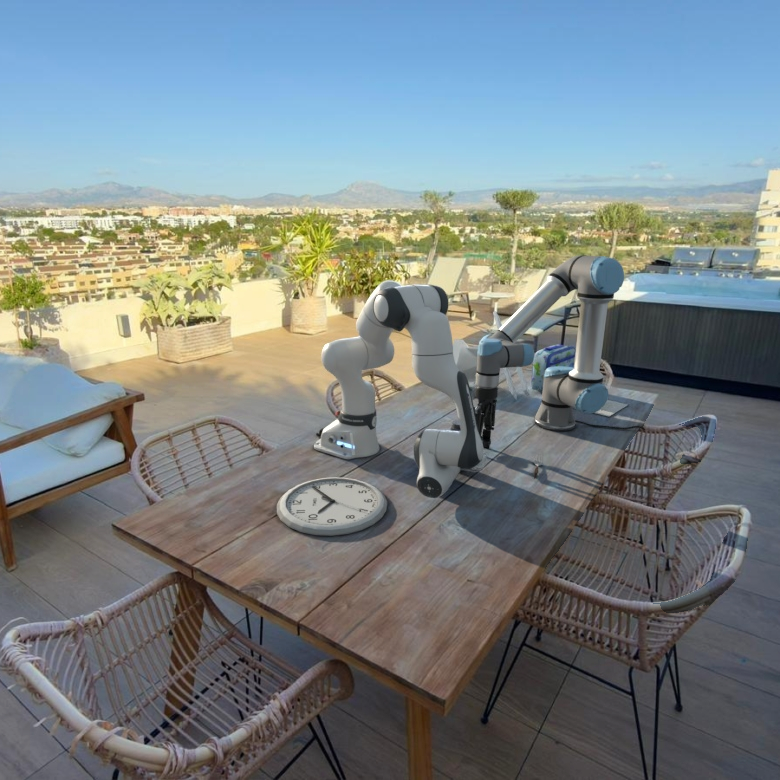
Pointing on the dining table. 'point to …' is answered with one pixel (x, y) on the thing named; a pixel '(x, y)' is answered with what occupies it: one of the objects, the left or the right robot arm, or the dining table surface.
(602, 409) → the invitation card
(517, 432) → the dining table surface
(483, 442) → the lid
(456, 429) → the jar
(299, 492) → the wall clock
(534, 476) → the fork
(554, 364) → the lunch box
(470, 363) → the white plastic object
